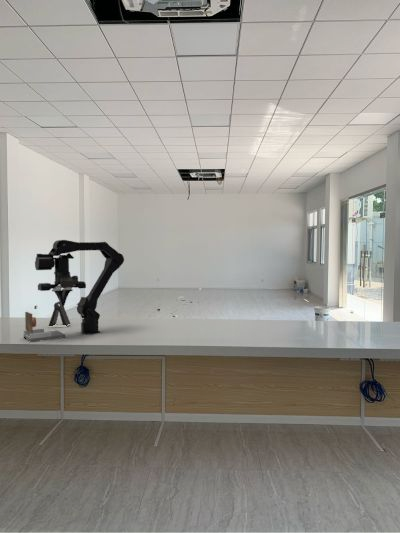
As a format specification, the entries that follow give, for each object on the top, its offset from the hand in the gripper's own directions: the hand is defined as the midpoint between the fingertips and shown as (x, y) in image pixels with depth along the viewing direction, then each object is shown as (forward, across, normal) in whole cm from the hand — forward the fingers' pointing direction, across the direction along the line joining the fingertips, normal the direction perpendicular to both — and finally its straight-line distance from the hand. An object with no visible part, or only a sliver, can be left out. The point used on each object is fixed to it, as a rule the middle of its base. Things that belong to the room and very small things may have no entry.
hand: (62, 306), depth 169 cm
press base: (+13, -7, +3) cm, 15 cm away
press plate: (+9, -12, +3) cm, 16 cm away
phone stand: (+13, +6, +24) cm, 28 cm away
